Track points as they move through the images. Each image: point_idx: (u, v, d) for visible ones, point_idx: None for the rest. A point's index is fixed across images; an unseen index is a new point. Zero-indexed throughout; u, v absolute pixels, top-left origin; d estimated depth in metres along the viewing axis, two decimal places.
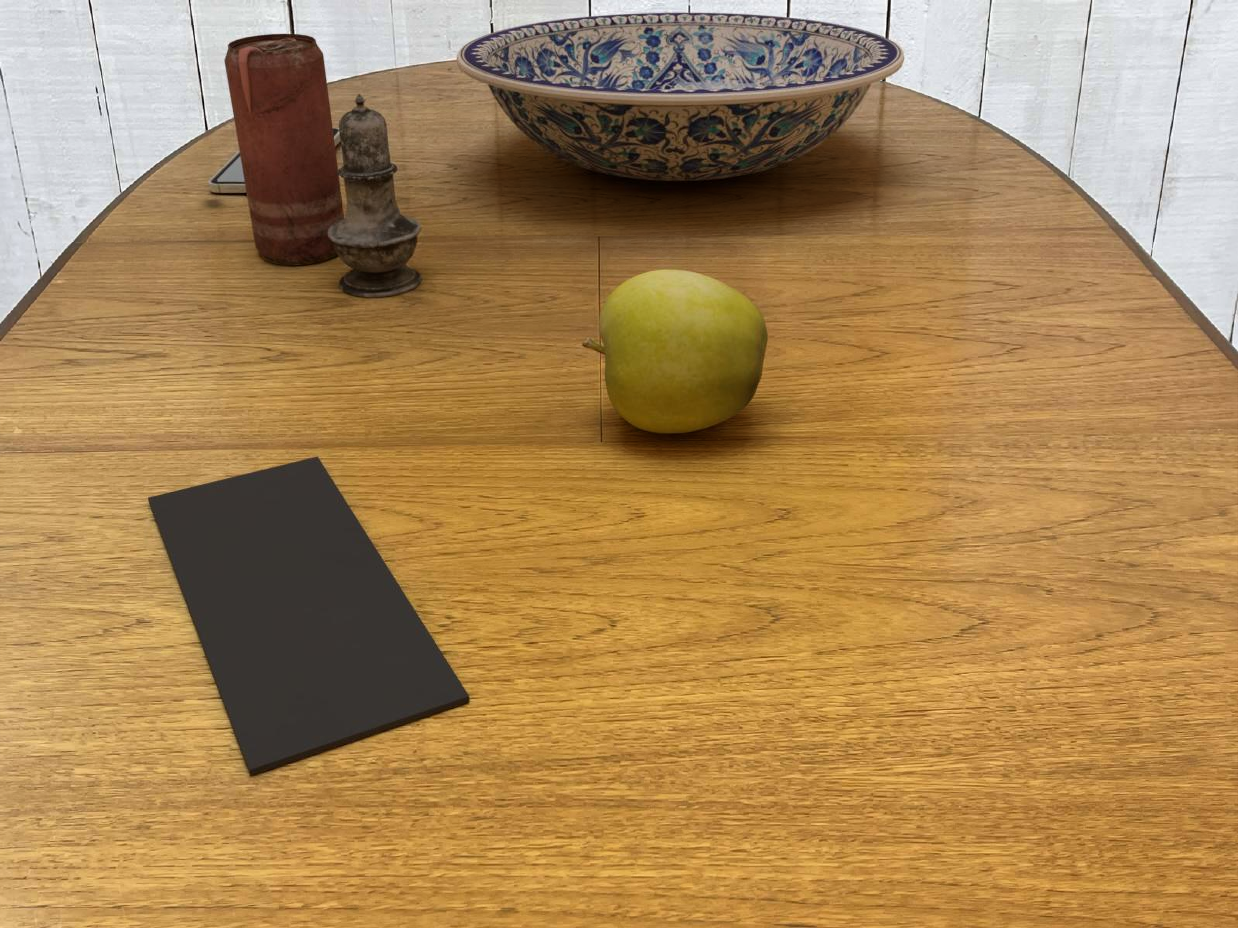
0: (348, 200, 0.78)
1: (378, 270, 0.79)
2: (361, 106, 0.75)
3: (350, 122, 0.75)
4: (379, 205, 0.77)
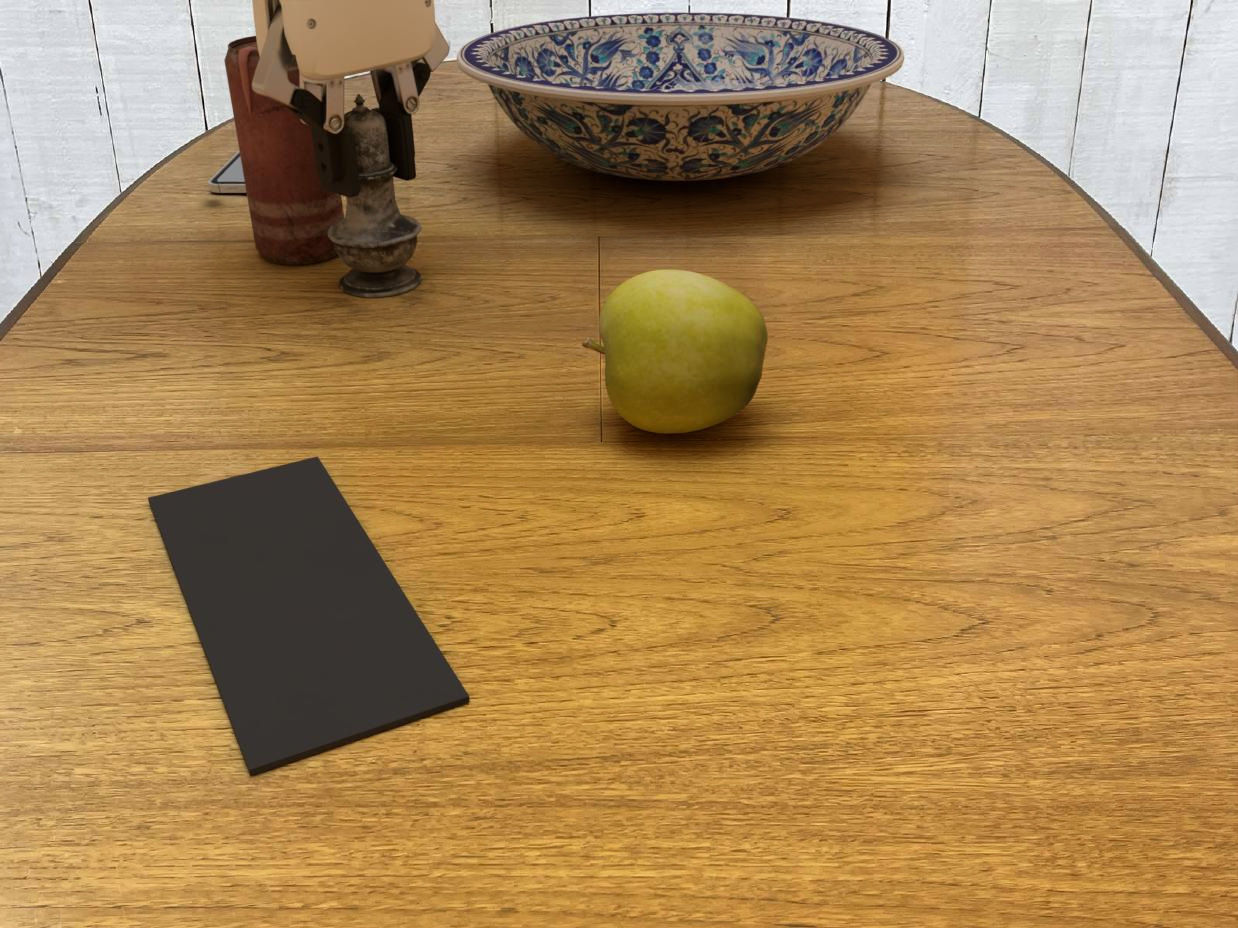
0: (348, 200, 0.78)
1: (378, 270, 0.79)
2: (361, 106, 0.75)
3: (349, 122, 0.75)
4: (379, 205, 0.77)
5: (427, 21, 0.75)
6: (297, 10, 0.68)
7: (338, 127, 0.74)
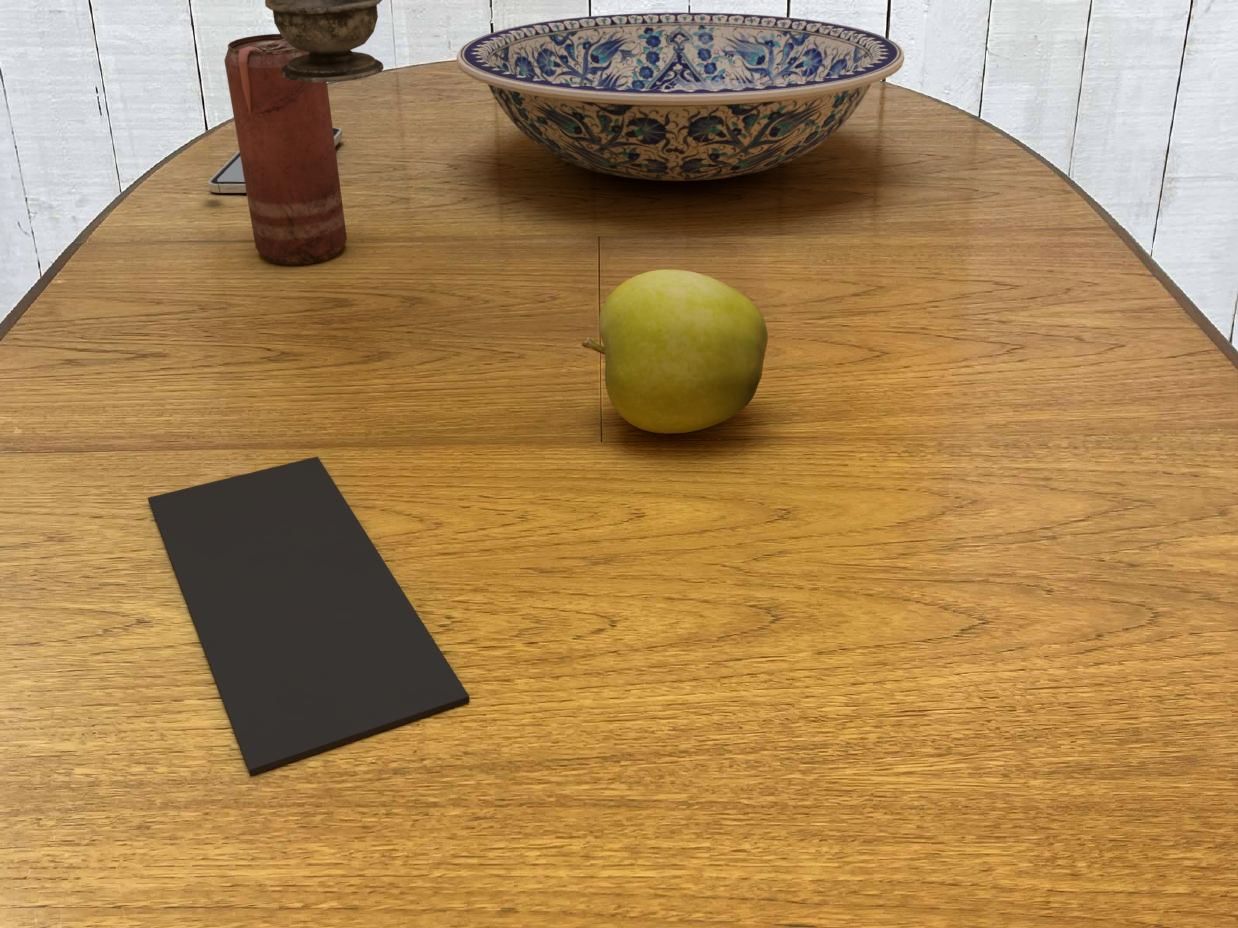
0: None
1: (329, 48, 0.63)
2: None
3: None
4: None
5: None
6: None
7: None
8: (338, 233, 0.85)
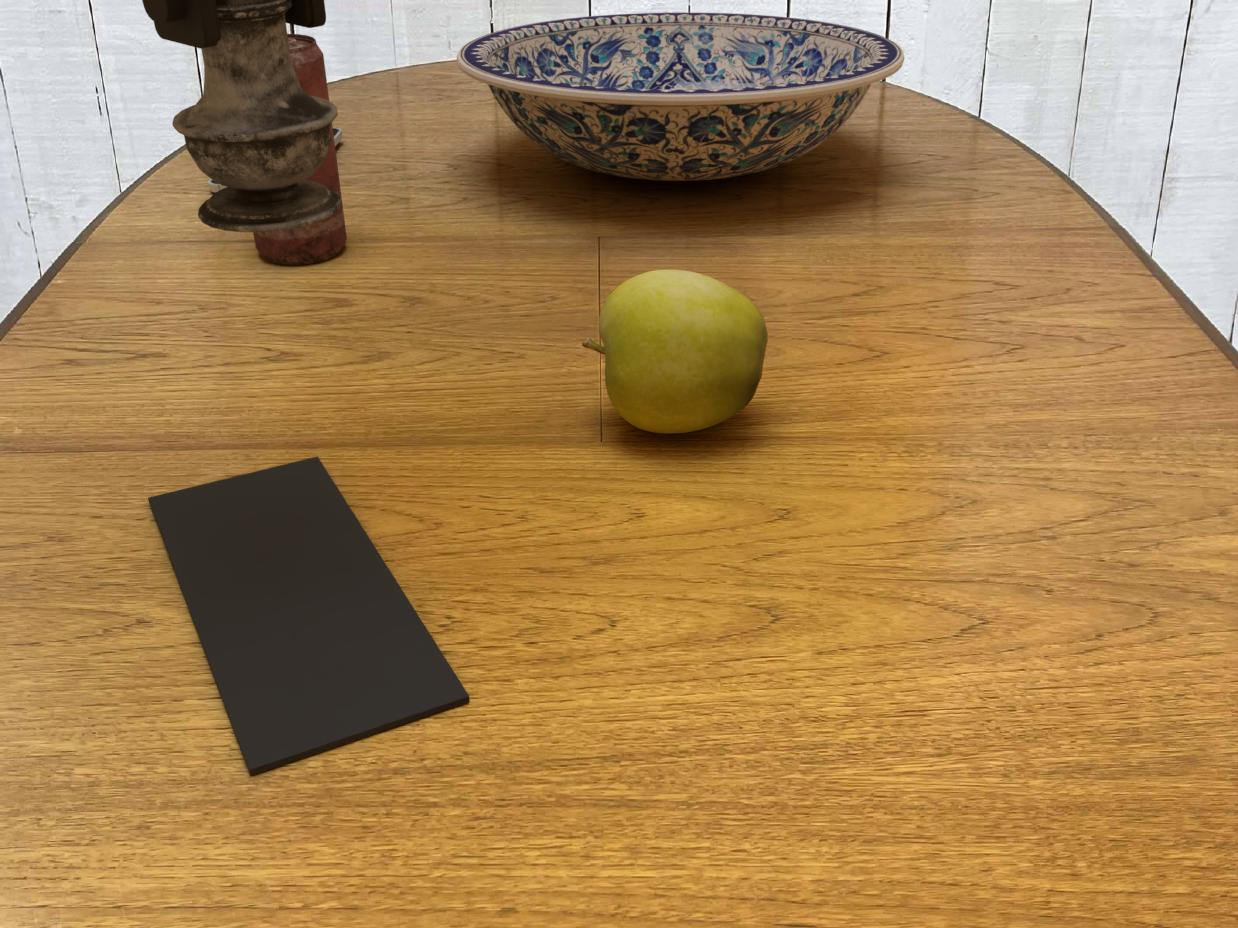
0: (205, 59, 0.44)
1: (261, 185, 0.45)
2: None
3: None
4: (259, 67, 0.44)
5: None
6: None
7: None
8: (338, 233, 0.85)
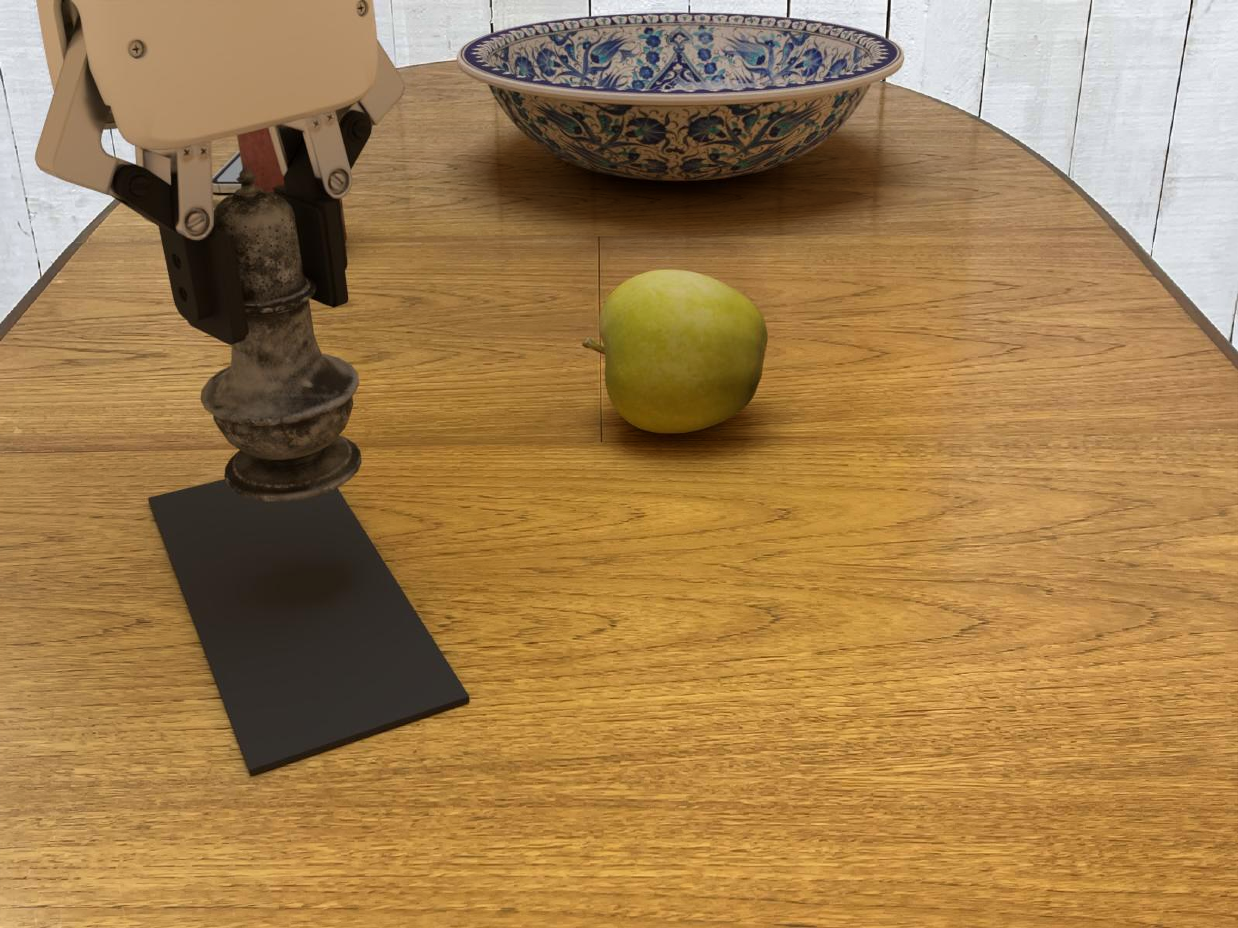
0: None
1: (286, 457, 0.47)
2: (249, 188, 0.44)
3: (228, 217, 0.43)
4: (285, 352, 0.46)
5: (362, 41, 0.43)
6: (108, 24, 0.37)
7: (203, 228, 0.42)
8: None
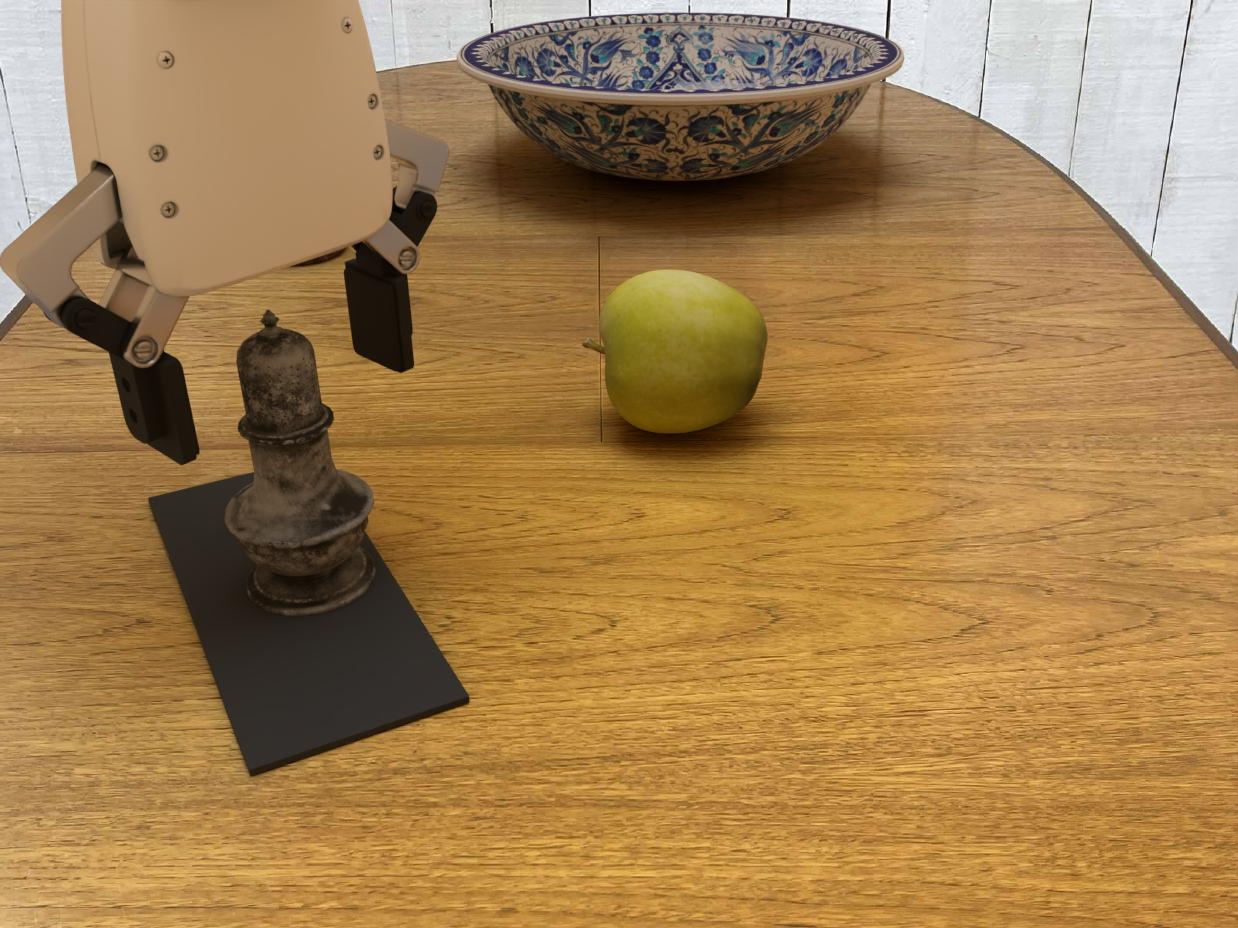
0: (255, 469, 0.49)
1: (305, 574, 0.50)
2: (272, 329, 0.46)
3: (252, 357, 0.46)
4: (305, 478, 0.48)
5: (378, 182, 0.45)
6: (142, 189, 0.39)
7: (152, 355, 0.42)
8: None
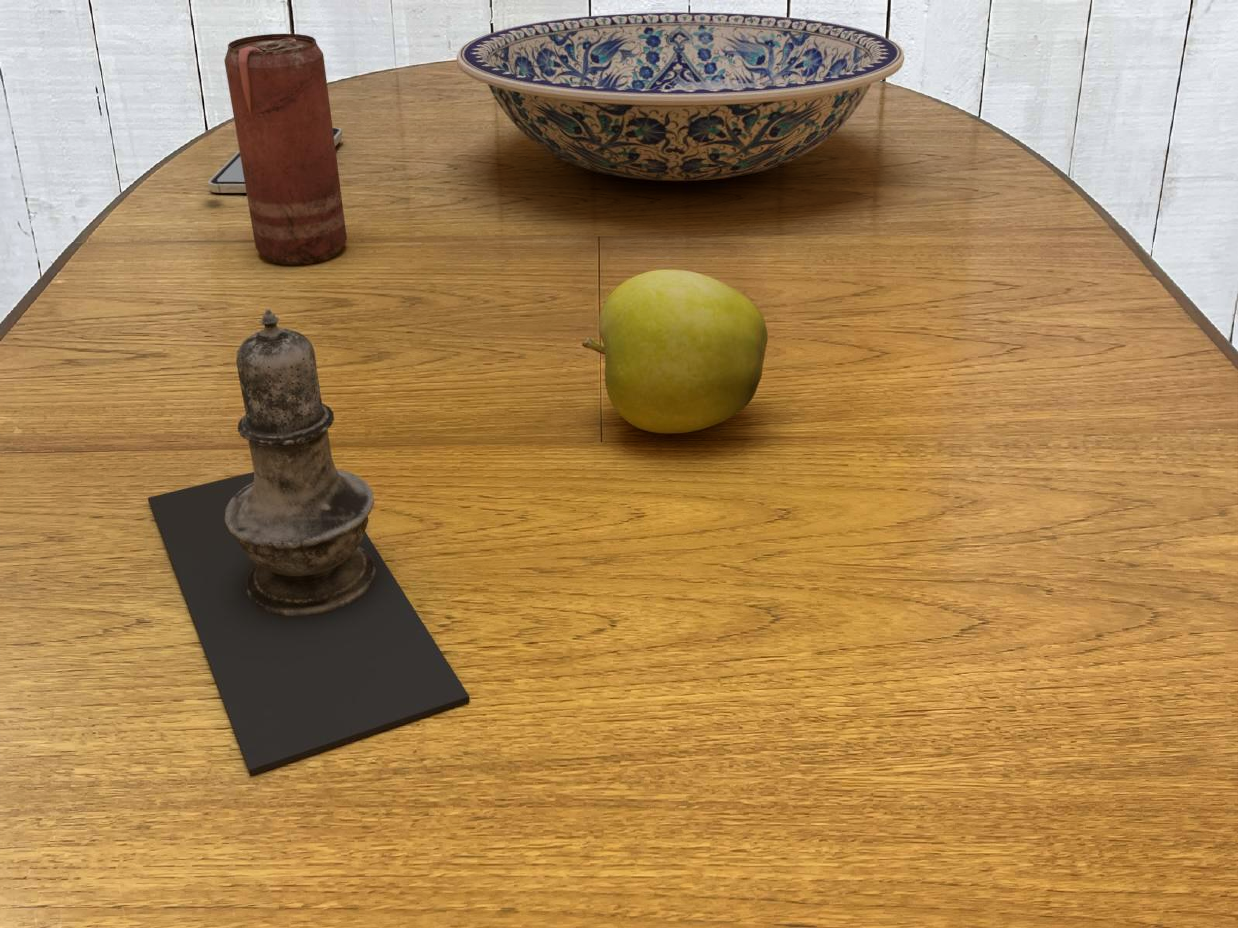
0: (255, 469, 0.49)
1: (305, 574, 0.50)
2: (272, 329, 0.46)
3: (252, 358, 0.46)
4: (305, 478, 0.48)
5: None
6: None
7: None
8: (338, 233, 0.85)
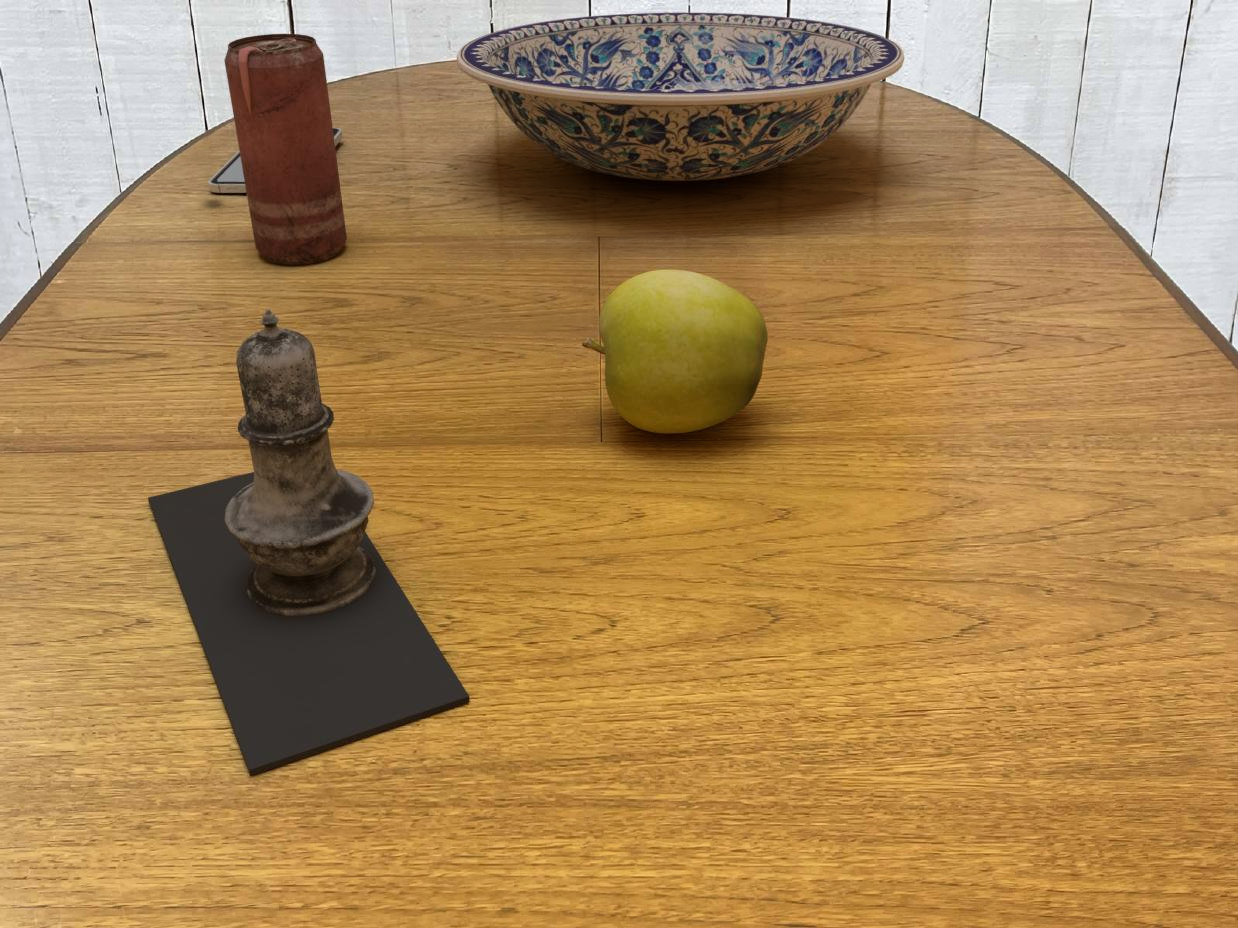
0: (255, 469, 0.49)
1: (305, 574, 0.50)
2: (272, 329, 0.46)
3: (252, 358, 0.46)
4: (305, 478, 0.48)
5: None
6: None
7: None
8: (338, 233, 0.85)
